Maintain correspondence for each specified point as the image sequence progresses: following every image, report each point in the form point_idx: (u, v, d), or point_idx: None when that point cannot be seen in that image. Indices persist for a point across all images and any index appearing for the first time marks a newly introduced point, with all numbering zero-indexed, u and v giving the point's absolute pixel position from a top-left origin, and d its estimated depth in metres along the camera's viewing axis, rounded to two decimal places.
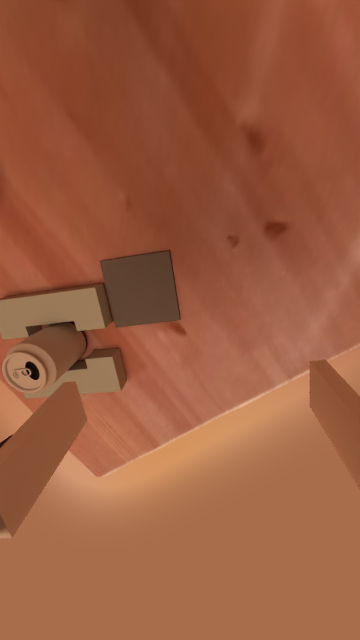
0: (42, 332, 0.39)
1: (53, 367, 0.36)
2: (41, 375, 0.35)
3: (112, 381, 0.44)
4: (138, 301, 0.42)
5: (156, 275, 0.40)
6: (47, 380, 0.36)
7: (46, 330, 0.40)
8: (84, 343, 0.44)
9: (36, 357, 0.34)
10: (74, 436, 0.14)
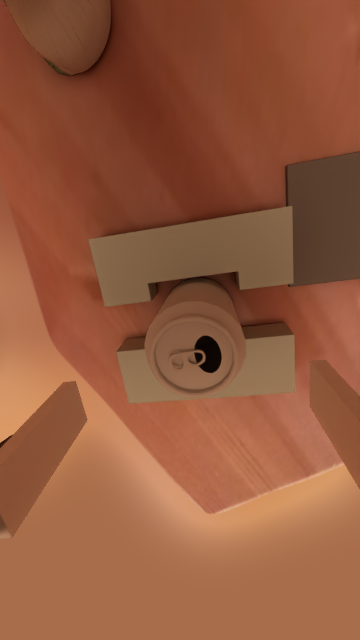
0: (193, 288, 0.22)
1: (243, 348, 0.18)
2: (224, 364, 0.18)
3: (284, 376, 0.26)
4: (341, 240, 0.25)
5: None
6: None
7: (195, 286, 0.23)
8: None
9: None
10: (74, 436, 0.14)
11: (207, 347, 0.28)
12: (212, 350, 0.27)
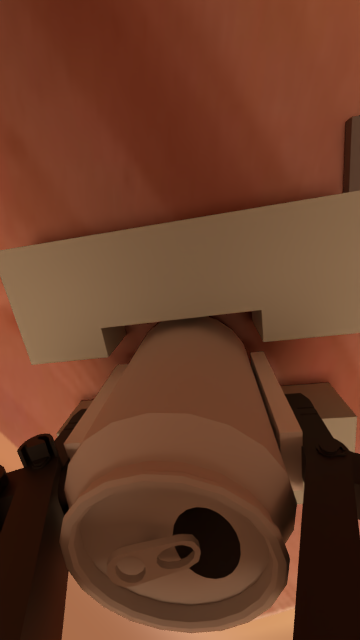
0: (179, 349, 0.11)
1: (291, 518, 0.08)
2: (247, 565, 0.07)
3: None
4: None
5: None
6: None
7: (183, 341, 0.12)
8: None
9: (249, 495, 0.06)
10: None
11: None
12: None
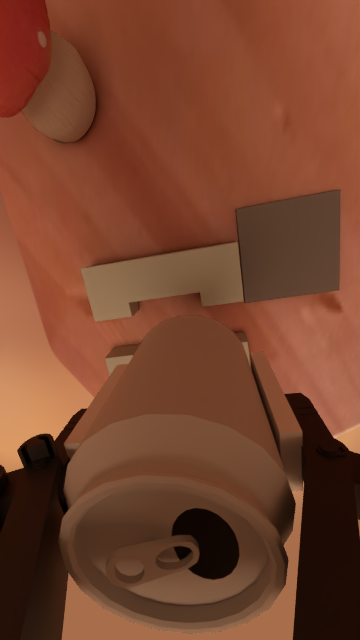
0: (178, 350, 0.11)
1: (290, 519, 0.08)
2: (246, 566, 0.07)
3: None
4: (283, 266, 0.31)
5: (315, 226, 0.29)
6: None
7: (182, 342, 0.12)
8: None
9: (247, 496, 0.06)
10: None
11: None
12: None
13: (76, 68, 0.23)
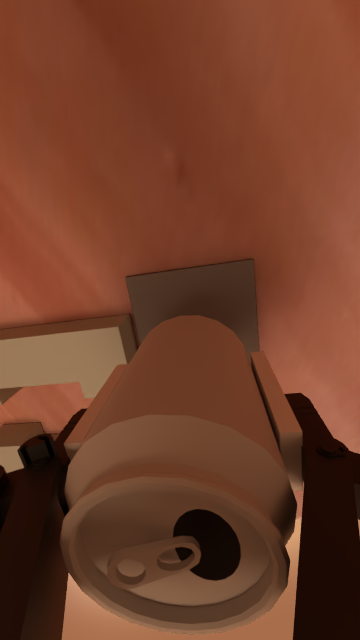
0: (179, 350, 0.11)
1: (291, 520, 0.08)
2: (247, 567, 0.07)
3: None
4: None
5: (226, 302, 0.23)
6: None
7: (183, 342, 0.12)
8: None
9: (249, 497, 0.06)
10: None
11: None
12: None
13: None
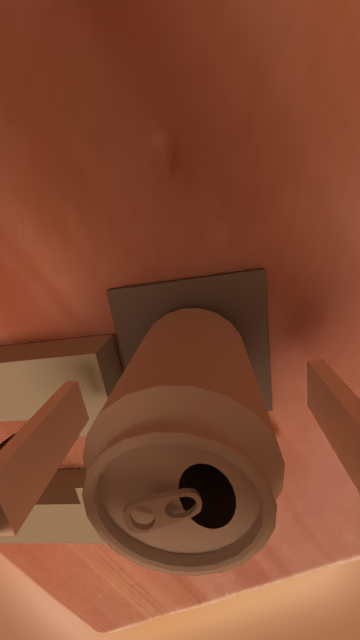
0: (182, 337, 0.13)
1: (280, 477, 0.09)
2: (242, 515, 0.09)
3: None
4: None
5: None
6: None
7: (185, 331, 0.13)
8: None
9: (242, 451, 0.08)
10: (76, 435, 0.14)
11: None
12: None
13: None
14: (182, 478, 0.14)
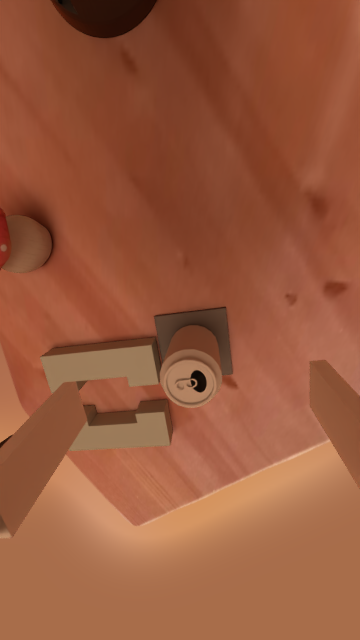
0: (190, 336, 0.34)
1: (220, 377, 0.31)
2: (208, 387, 0.30)
3: (162, 435, 0.43)
4: None
5: (211, 331, 0.40)
6: None
7: (191, 334, 0.35)
8: None
9: (207, 365, 0.29)
10: (74, 436, 0.14)
11: (200, 373, 0.40)
12: (203, 375, 0.39)
13: (33, 238, 0.34)
14: None
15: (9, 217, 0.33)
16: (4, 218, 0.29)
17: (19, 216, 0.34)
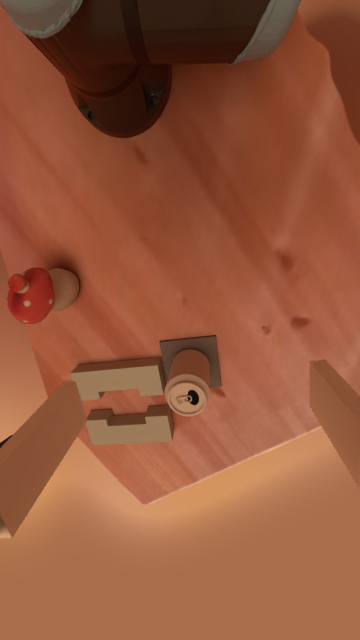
0: (187, 361, 0.45)
1: (209, 394, 0.42)
2: (200, 401, 0.41)
3: (165, 433, 0.55)
4: None
5: (204, 353, 0.51)
6: None
7: (188, 359, 0.46)
8: None
9: (199, 386, 0.40)
10: (74, 436, 0.14)
11: None
12: None
13: (67, 287, 0.45)
14: None
15: (50, 272, 0.44)
16: (51, 279, 0.40)
17: (57, 270, 0.45)
